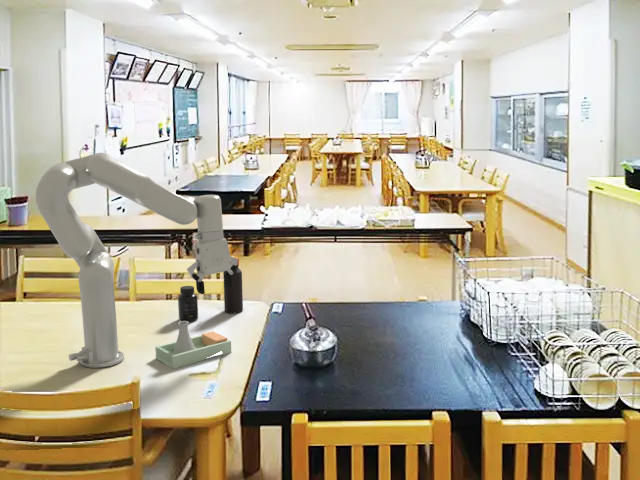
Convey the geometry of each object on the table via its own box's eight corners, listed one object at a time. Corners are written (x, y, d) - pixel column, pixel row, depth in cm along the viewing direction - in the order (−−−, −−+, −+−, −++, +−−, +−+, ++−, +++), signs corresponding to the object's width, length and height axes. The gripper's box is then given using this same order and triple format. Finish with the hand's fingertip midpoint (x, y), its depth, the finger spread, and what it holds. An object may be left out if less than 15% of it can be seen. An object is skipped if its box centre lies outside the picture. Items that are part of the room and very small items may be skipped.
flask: (199, 350, 211) (198, 319, 209) (193, 358, 204) (191, 326, 202) (176, 349, 212) (175, 318, 210) (169, 357, 205) (167, 326, 203)
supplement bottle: (176, 318, 247) (175, 286, 244) (195, 315, 250) (194, 283, 247) (181, 323, 241) (180, 290, 238) (200, 321, 243) (199, 288, 241)
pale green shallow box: (173, 368, 200) (173, 356, 199) (155, 358, 208) (155, 346, 207) (231, 352, 212) (231, 341, 212) (212, 343, 221) (211, 332, 220)
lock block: (216, 350, 210) (216, 340, 210) (202, 343, 216) (201, 334, 216) (227, 347, 213) (227, 337, 212) (213, 340, 219) (212, 331, 218)
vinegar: (246, 310, 256) (245, 257, 252) (235, 314, 251) (233, 261, 247) (232, 307, 260) (230, 255, 256) (220, 311, 254) (219, 259, 250)
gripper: (191, 242, 199) (196, 298, 203) (241, 232, 210) (245, 286, 214) (179, 238, 205) (184, 293, 209) (228, 229, 216) (232, 282, 219)
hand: (214, 290), depth 211 cm, fingers open, 9 cm apart
